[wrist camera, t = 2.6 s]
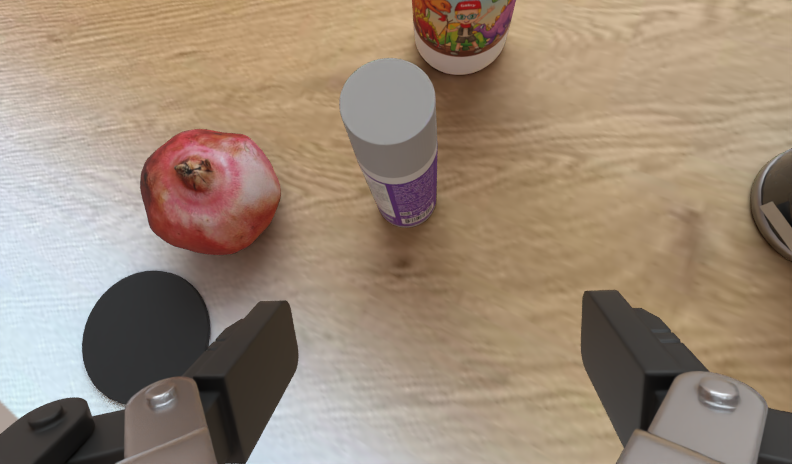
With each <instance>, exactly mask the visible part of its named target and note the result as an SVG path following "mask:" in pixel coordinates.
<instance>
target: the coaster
mask: <svg viewBox="0 0 792 464" xmlns="http://www.w3.org/2000/svg"><path fill="white" fill-rule="evenodd" d="M209 337H210V322H209V316H208V311H207V308H206V305H205V303H204V301H203V299H202V297H201V295H200V294H199V293H198V291H197V290H196V289H195V288H194V287H193V286H192V285H191V284H190V283H189V282H187V281H186V280H185V279H183V278H181V277H179V276H177V275H174V274H172V273H167V272H163V271H145V272H140V273H136V274H133V275H130V276H128V277H126V278H124V279H122V280H120V281H119V282H117V283H116V284H114V285H113V286H112V287H111V288H109V289H108V290H107V291H106V292H105V293H104V294H103V295H102V296H101V298H100V299H99V300H98V301H97V303H96V304H95V306H94V308H93V309H92V311H91V313H90V315H89V317H88V320H87V323H86V325H85V329H84V334H83V341H82V353H83V361H84V364H85V368H86V371H87V373H88V375H89V377H90V379H91V381H92V382H93V384H94V385H95V386H96V387H97V389H98V390H99V391H101V392H102V393H103V394H104V395H105V396H107V397H109V398H110V399H112V400H114V401H117V402H119V403H123V404H127V403H128V401H129V400H130V399H131V398H132V397H133V396H134V395H135V394H136V393H137V392H139V391H140V390H142V389H143V388H145V387H147V386H148V385H150V384H153V383H155V382H157V381H160V380H163V379H167V378H171V377H181V376H182V375H183V374H184V373H185V372H186V371H187V370H188V369H189V367H190V366H191V365H192V364H193V363H194V362H195V361H196V360H197V359H198V358H199V357H200V356H201V355H202V354H203V352H204V351H207V347H208V343H209Z"/></svg>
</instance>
